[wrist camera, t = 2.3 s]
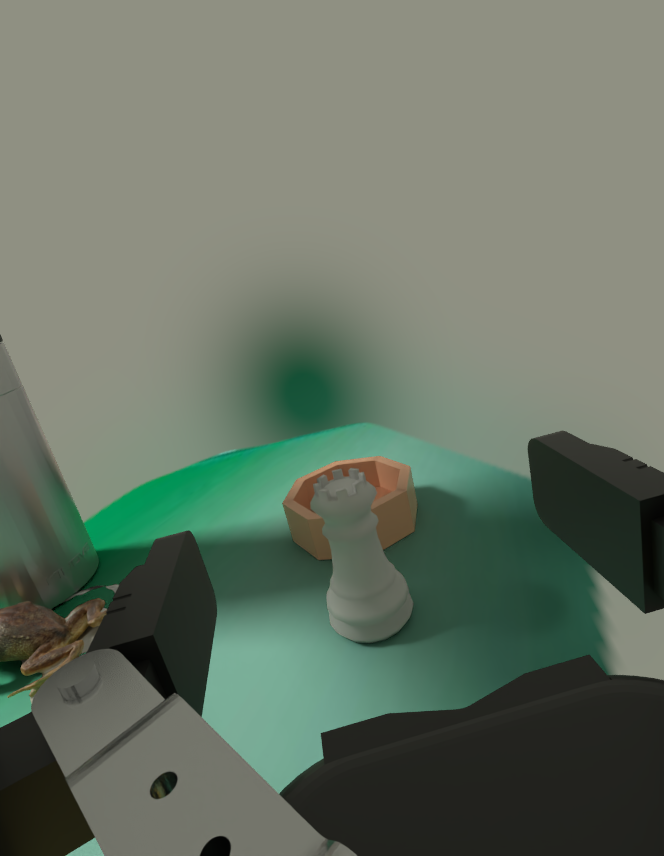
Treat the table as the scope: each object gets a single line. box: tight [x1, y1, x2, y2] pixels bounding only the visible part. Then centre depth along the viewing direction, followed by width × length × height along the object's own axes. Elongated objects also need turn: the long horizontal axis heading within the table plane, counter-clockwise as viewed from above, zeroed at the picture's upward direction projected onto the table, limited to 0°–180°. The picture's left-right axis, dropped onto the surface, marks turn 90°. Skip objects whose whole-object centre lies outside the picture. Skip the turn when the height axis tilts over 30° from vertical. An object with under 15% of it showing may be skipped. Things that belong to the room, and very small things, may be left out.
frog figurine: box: [0, 584, 119, 703], centre depth 29 cm, size 12×12×4 cm
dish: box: [282, 456, 418, 560], centre depth 35 cm, size 8×8×3 cm
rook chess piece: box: [310, 468, 413, 643], centre depth 25 cm, size 4×4×8 cm
